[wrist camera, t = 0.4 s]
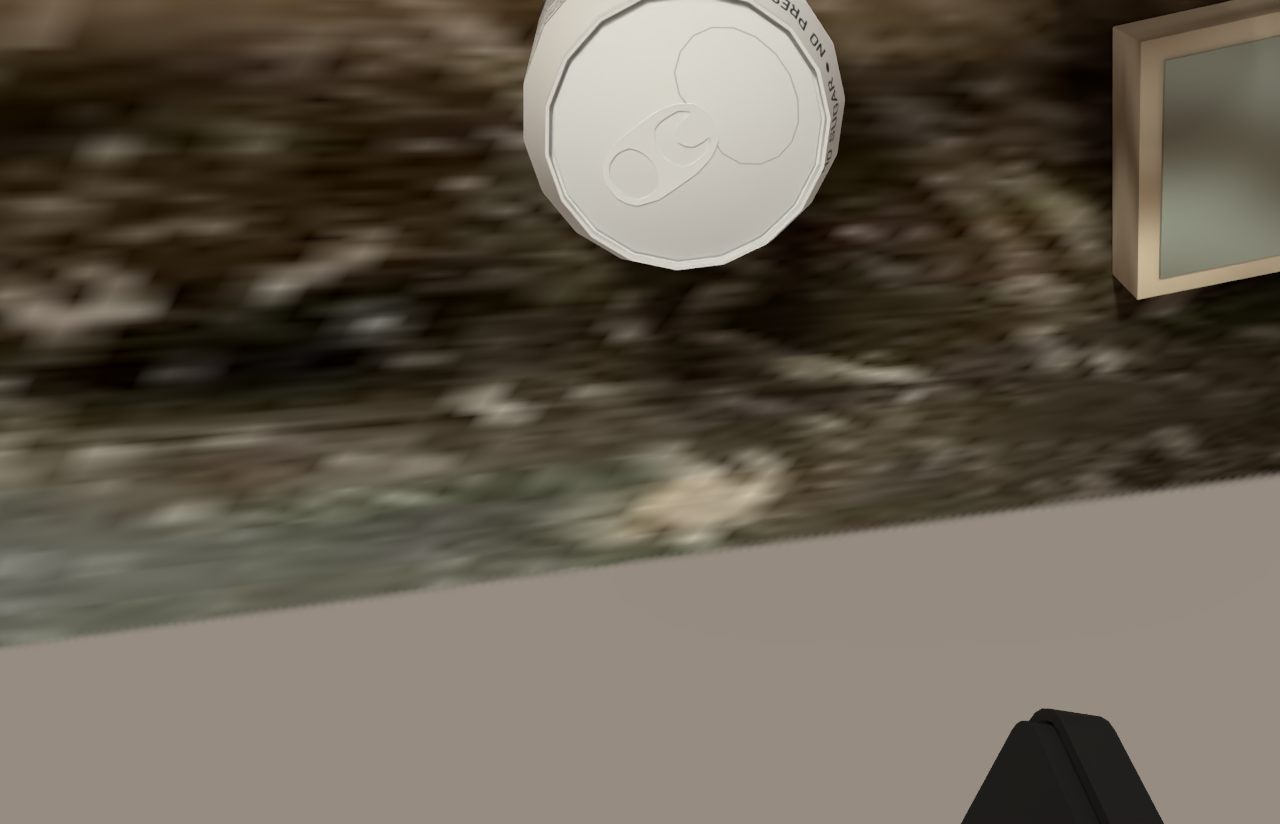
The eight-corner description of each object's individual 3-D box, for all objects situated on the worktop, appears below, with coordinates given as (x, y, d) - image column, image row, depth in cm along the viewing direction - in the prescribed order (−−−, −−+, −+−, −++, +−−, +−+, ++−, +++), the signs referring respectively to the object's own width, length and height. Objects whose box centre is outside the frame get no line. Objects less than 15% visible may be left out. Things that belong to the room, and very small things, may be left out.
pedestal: (1112, 26, 41) (1142, 42, 39) (1396, -36, 40) (1444, -23, 38) (1112, 274, 46) (1138, 301, 44) (1364, 222, 45) (1405, 248, 43)
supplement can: (685, -167, 37) (728, -123, 24) (817, 37, 41) (916, 169, 28) (499, -12, 40) (447, 104, 27) (639, 169, 43) (654, 347, 30)
